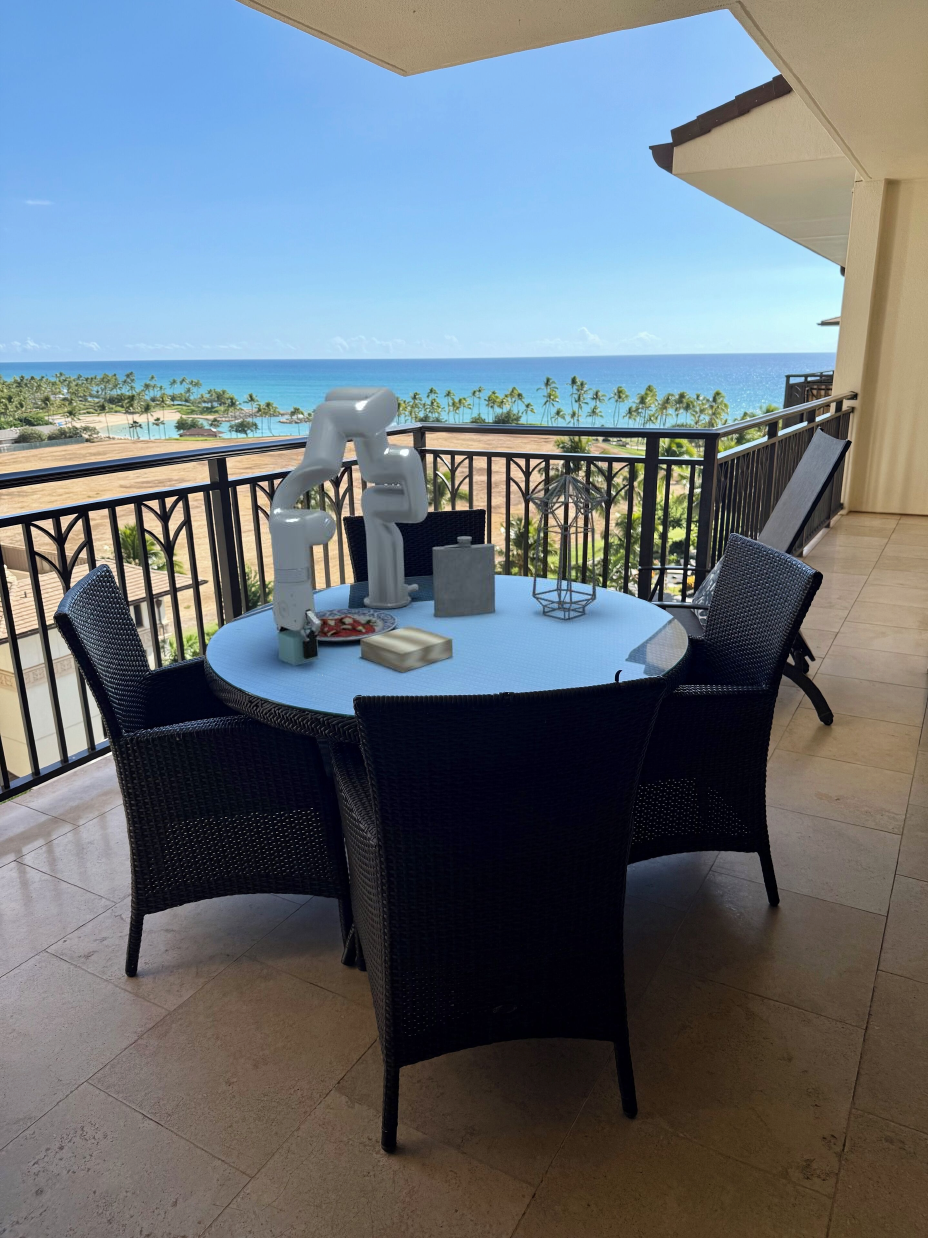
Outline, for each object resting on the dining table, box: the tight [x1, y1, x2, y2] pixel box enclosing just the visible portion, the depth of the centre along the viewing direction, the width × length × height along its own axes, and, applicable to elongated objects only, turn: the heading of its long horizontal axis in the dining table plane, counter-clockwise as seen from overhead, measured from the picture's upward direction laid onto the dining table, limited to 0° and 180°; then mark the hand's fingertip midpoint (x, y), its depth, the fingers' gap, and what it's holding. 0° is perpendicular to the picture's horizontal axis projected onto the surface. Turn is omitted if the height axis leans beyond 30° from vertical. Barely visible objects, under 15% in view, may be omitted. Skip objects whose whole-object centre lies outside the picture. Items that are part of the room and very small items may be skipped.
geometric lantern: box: [526, 474, 610, 621], centre depth 201 cm, size 16×16×35 cm
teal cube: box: [277, 630, 319, 666], centre depth 174 cm, size 6×6×6 cm
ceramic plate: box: [304, 608, 398, 643], centre depth 194 cm, size 26×26×3 cm
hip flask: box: [432, 535, 496, 618], centre depth 204 cm, size 16×4×20 cm, turn 104°
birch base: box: [359, 625, 454, 673], centre depth 175 cm, size 14×14×4 cm
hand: (298, 652), depth 175 cm, fingers open, 9 cm apart
